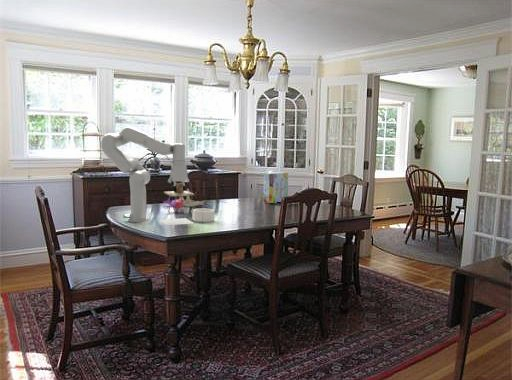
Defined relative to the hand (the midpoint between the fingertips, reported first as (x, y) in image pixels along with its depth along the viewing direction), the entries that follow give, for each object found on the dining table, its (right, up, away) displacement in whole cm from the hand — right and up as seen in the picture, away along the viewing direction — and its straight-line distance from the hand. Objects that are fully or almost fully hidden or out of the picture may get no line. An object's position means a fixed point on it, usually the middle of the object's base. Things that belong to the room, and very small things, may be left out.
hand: (178, 191), depth 270 cm
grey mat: (-2, -19, +2) cm, 19 cm away
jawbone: (0, -12, +63) cm, 64 cm away
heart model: (-9, -15, +37) cm, 41 cm away
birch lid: (0, -1, 0) cm, 1 cm away
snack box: (+65, -10, +98) cm, 118 cm away
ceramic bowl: (+14, -19, +10) cm, 26 cm away
